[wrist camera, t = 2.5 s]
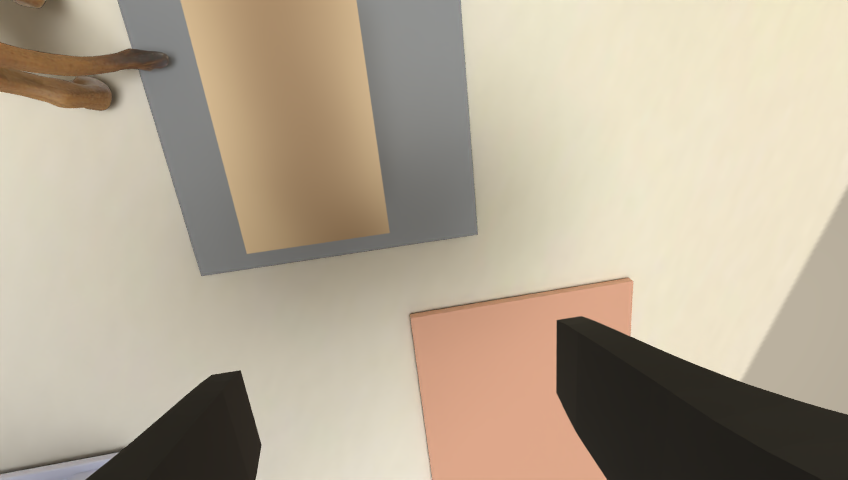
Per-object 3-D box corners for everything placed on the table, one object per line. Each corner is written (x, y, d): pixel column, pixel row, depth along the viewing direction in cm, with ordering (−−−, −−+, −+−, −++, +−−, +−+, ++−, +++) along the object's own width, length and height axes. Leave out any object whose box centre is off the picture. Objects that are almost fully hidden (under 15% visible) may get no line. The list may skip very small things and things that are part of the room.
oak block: (285, 205, 17) (246, 253, 12) (243, 17, 15) (171, -37, 9) (381, 192, 18) (389, 233, 12) (354, 6, 15) (348, -51, 10)
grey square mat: (203, 274, 18) (201, 276, 18) (104, -53, 14) (100, -55, 14) (476, 233, 19) (477, 234, 19) (453, -80, 15) (454, -82, 15)
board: (437, 516, 24) (438, 522, 24) (409, 314, 20) (410, 318, 19) (618, 477, 25) (622, 483, 25) (628, 278, 21) (633, 280, 21)
